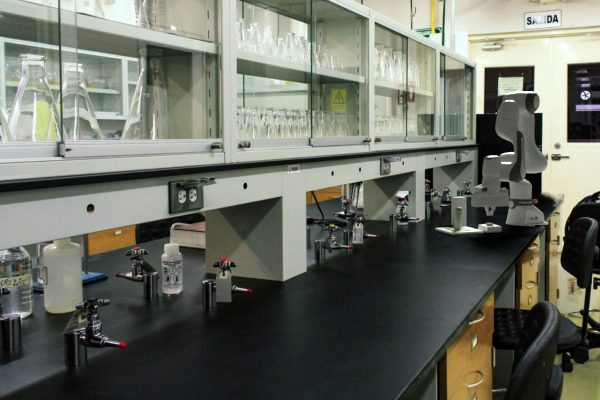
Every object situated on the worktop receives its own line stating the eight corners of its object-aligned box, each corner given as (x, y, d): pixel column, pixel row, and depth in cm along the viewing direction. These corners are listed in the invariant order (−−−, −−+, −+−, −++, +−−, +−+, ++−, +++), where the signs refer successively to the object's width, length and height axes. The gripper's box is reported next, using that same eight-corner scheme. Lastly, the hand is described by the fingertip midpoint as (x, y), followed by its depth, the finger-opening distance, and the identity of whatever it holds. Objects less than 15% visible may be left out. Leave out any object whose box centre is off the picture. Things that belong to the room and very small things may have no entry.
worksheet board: (465, 228, 321) (466, 226, 321) (483, 233, 306) (484, 230, 306) (435, 229, 316) (435, 227, 316) (452, 234, 301) (452, 232, 301)
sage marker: (458, 228, 313) (459, 207, 311) (462, 229, 310) (463, 208, 308) (453, 228, 312) (454, 207, 310) (456, 229, 308) (458, 208, 307)
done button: (490, 227, 314) (490, 222, 313) (494, 228, 311) (494, 223, 310) (485, 228, 313) (485, 223, 312) (488, 228, 310) (489, 224, 309)
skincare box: (466, 227, 326) (467, 197, 324) (453, 226, 326) (454, 197, 324) (462, 224, 334) (463, 196, 333) (450, 224, 334) (451, 196, 333)
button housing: (491, 229, 317) (491, 223, 316) (501, 232, 309) (501, 226, 309) (478, 230, 314) (478, 224, 314) (487, 232, 307) (487, 226, 306)
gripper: (504, 187, 315) (503, 214, 317) (469, 187, 309) (468, 215, 311) (512, 188, 309) (511, 215, 311) (477, 188, 303) (476, 216, 305)
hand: (489, 215), depth 311 cm, fingers closed
